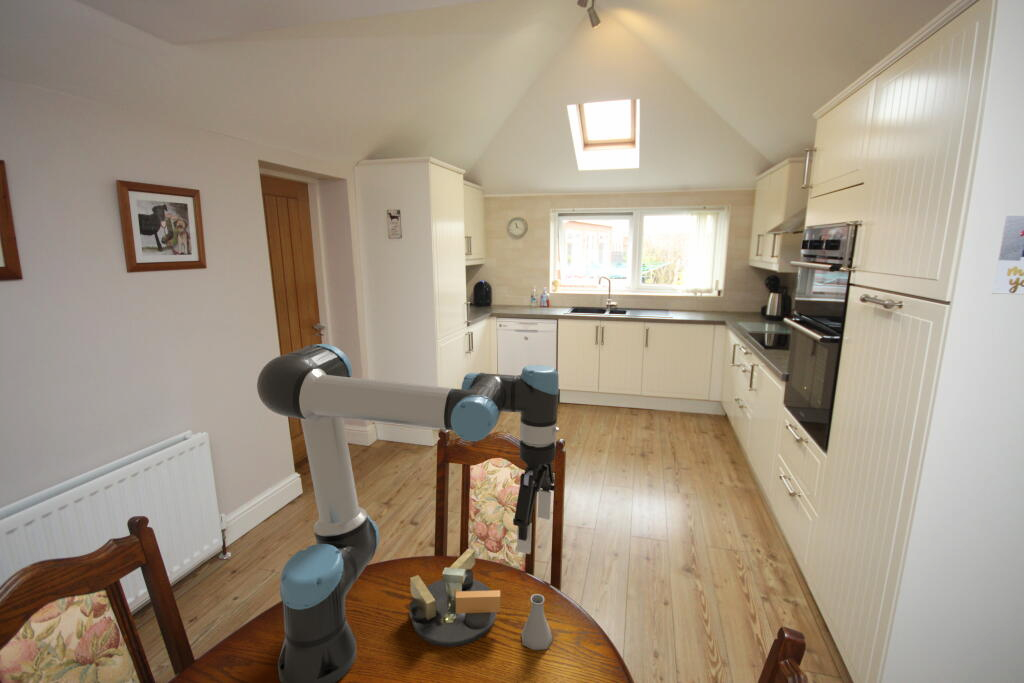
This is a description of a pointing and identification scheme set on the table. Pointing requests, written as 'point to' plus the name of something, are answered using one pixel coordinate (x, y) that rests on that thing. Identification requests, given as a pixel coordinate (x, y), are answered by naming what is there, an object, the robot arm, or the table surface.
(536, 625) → the flask
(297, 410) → the robot arm
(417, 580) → the round disc fixture
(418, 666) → the table surface
